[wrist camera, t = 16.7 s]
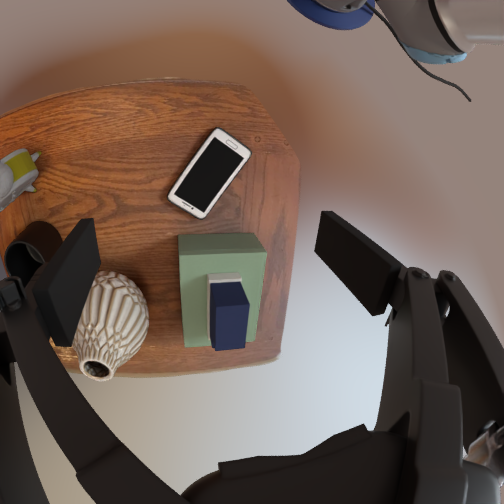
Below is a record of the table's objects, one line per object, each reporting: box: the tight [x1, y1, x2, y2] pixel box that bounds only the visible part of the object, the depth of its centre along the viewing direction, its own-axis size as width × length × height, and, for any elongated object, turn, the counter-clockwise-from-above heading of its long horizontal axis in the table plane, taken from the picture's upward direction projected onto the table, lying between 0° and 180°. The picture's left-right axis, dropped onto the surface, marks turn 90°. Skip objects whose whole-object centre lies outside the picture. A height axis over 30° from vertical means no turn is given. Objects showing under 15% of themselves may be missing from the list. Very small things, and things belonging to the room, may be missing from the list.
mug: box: [4, 221, 62, 289], centre depth 37 cm, size 9×12×9 cm
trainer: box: [207, 272, 250, 351], centre depth 44 cm, size 13×5×8 cm, turn 174°
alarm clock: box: [0, 149, 41, 212], centre depth 28 cm, size 12×7×15 cm, turn 113°
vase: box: [72, 271, 149, 381], centre depth 40 cm, size 16×16×20 cm
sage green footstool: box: [178, 233, 267, 347], centre depth 51 cm, size 14×20×8 cm
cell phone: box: [167, 127, 252, 220], centre depth 44 cm, size 8×15×1 cm, turn 141°
